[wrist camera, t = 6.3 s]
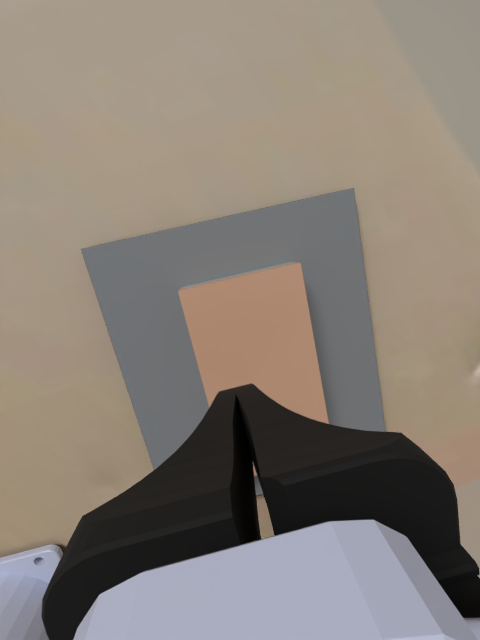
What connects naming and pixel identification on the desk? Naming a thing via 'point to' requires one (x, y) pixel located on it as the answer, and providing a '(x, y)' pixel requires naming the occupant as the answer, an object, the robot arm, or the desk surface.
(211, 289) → the tan wooden block
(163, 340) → the mat
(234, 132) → the desk surface
